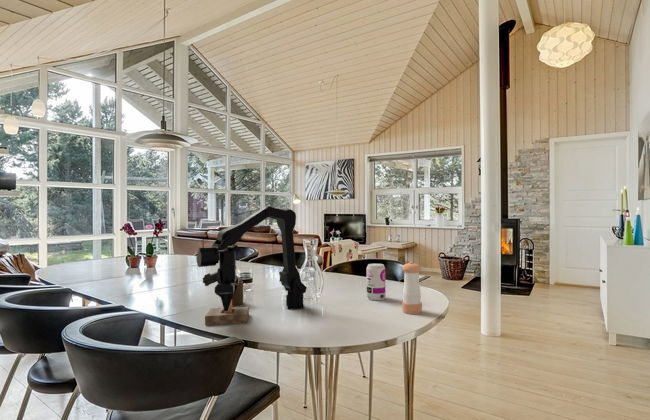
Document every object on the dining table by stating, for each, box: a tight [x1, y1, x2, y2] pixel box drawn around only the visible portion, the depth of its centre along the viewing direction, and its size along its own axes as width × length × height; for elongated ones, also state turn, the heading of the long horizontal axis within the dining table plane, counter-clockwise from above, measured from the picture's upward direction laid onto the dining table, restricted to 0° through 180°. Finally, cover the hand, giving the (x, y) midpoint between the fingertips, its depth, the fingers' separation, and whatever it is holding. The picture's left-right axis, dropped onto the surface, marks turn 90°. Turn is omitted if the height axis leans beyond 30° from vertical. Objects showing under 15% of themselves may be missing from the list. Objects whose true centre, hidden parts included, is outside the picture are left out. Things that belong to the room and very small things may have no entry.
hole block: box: [204, 306, 250, 326], centre depth 129 cm, size 14×10×3 cm
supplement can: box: [366, 263, 387, 301], centre depth 158 cm, size 8×8×15 cm
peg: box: [224, 300, 233, 313], centre depth 129 cm, size 3×3×10 cm
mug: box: [232, 279, 244, 307], centre depth 149 cm, size 12×8×9 cm, turn 173°
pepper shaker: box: [401, 261, 423, 315], centre depth 137 cm, size 7×7×19 cm
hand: (227, 307), depth 129 cm, fingers open, 9 cm apart
